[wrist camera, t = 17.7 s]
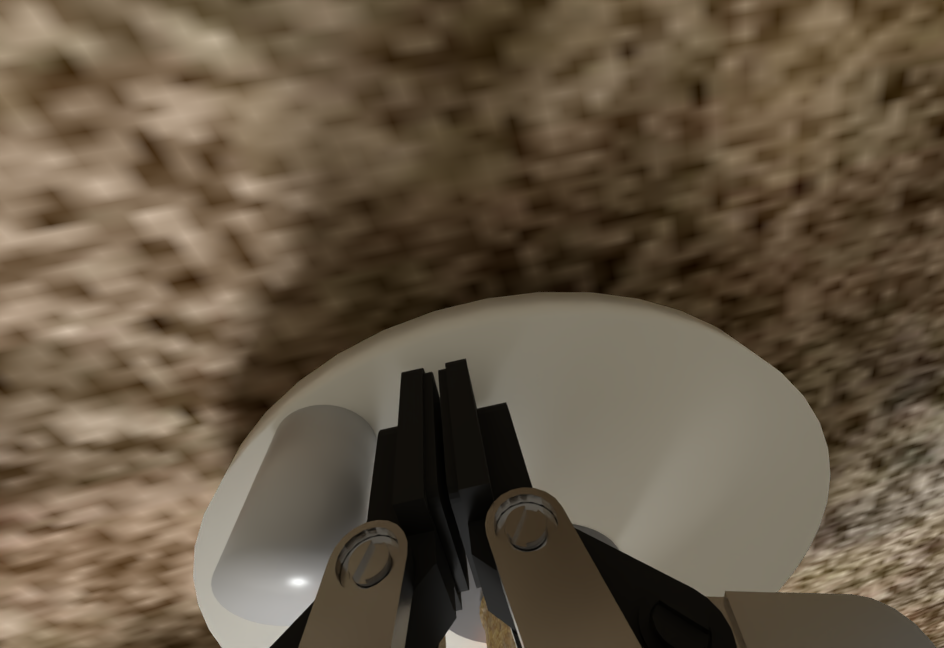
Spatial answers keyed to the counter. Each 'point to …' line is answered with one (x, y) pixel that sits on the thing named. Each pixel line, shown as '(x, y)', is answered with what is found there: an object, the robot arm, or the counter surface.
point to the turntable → (533, 452)
